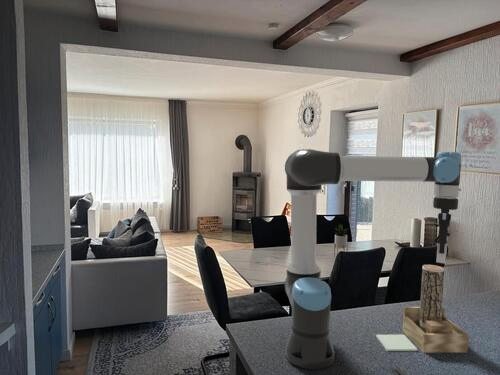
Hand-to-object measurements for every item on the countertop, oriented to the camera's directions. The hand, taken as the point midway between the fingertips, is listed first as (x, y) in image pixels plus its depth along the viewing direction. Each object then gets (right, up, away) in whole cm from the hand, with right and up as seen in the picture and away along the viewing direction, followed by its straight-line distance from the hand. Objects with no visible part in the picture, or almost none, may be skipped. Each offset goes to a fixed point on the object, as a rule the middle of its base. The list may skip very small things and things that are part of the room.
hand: (441, 258), depth 129 cm
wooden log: (-4, -28, +2) cm, 28 cm away
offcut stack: (-3, -29, -5) cm, 29 cm away
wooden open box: (-4, -28, -1) cm, 28 cm away
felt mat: (-17, -28, -3) cm, 33 cm away
